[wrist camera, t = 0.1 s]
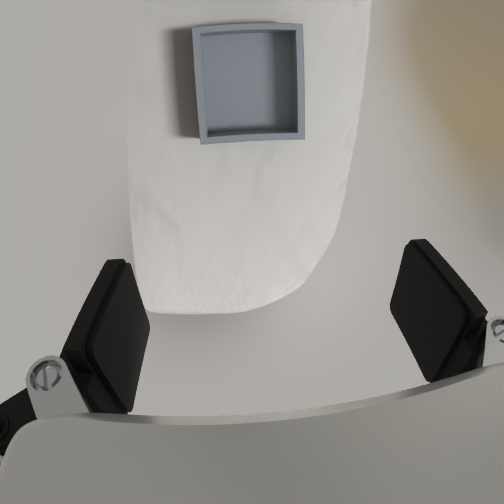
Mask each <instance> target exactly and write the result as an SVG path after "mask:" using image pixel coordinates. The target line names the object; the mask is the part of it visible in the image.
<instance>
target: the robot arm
mask: <svg viewBox="0 0 504 504" xmlns="http://www.w3.org/2000/svg"><path fill="white" fill-rule="evenodd" d="M390 310H391V313H392V315H393V317H394V319H395V320H396V322H397V324H398V326H399V328H400V330H401V332H402V333H403V336H404V337H405V339H406V341H407V343H408V345H409V347H410V349H411V351H412V353H413V355H414V357H415V359H416V361H417V363H418V365H419V367H420V369H421V371H422V373H423V376H424V378H425V379H426V381H428V382H430V384H426V385H422V386H419V387H416V388H412V389H407V390H403V391H400V392H396V393H391V394H387V395H382V396H378V397H374V398H368V399H364V400H358V401H354V402H347V403H342V404H336V405H330V406H323V407H316V408H309V409H302V410H293V411H284V412H274V413H263V414H249V415H232V416H197V417H196V416H191V417H190V416H188V417H187V416H145V415H143V416H142V415H127V414H128V412H131V411H132V409H133V405H134V400H135V395H136V390H137V385H138V381H139V375H140V371H141V367H142V362H143V358H144V353H145V349H146V344H147V340H148V336H149V331H150V325H149V320H148V317H147V314H146V312H145V309H144V305H143V302H142V299H141V296H140V293H139V290H138V287H137V284H136V280H135V277H134V274H133V270H132V267H131V264H130V263H126V261H125V260H124V259H112V260H107V261H106V262H105V264H104V266H103V268H102V270H101V271H100V273H99V275H98V277H97V279H96V281H95V283H94V285H93V287H92V289H91V290H90V293H89V294H88V296H87V298H86V300H85V302H84V304H83V307H82V308H81V311H80V312H79V314H78V317H77V319H76V321H75V323H74V325H73V327H72V329H71V331H70V334H69V336H68V338H67V340H66V342H65V345H64V347H63V349H62V352H61V355H60V357H57V356H46V357H44V358H41V359H39V360H38V361H36V362H35V363H34V364H33V365H32V366H31V367H30V369H29V371H28V373H27V377H26V386H27V388H25V389H24V390H23V391H21V392H19V393H17V394H16V395H14V396H13V397H11V398H10V399H8V400H6V401H5V402H3V403H2V404H0V504H504V317H502V316H494V317H491V318H490V319H489V320H488V322H487V321H486V319H485V317H486V315H487V313H488V311H487V310H486V309H485V307H484V306H483V305H482V303H481V302H480V301H479V300H478V298H477V297H476V296H475V295H474V293H473V292H472V291H471V290H470V288H469V287H468V286H467V285H466V284H465V282H464V281H463V280H462V279H461V278H460V276H459V275H458V274H457V273H456V272H455V271H454V270H453V268H452V267H451V266H450V265H449V264H448V263H447V261H446V260H445V259H444V258H443V257H442V256H441V255H440V254H439V252H438V251H437V250H436V249H435V248H434V247H433V246H432V245H431V244H430V243H429V242H428V241H427V240H426V239H416V240H411V241H410V242H409V243H408V244H407V245H406V246H405V248H404V252H403V257H402V261H401V265H400V269H399V273H398V277H397V280H396V284H395V288H394V291H393V295H392V298H391V302H390Z"/></svg>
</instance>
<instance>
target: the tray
mask: <svg viewBox="0 0 504 504" xmlns="http://www.w3.org/2000/svg"><path fill="white" fill-rule="evenodd" d="M192 38H193V55H194V70H195V85H196V98H197V110H198V122H199V133H200V144H201V145H203V144H214V143H227V142H243V141H263V140H299V139H305V81H304V44H303V24H293V23H244V24H226V25H213V26H202V27H194V28H192Z"/></svg>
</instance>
